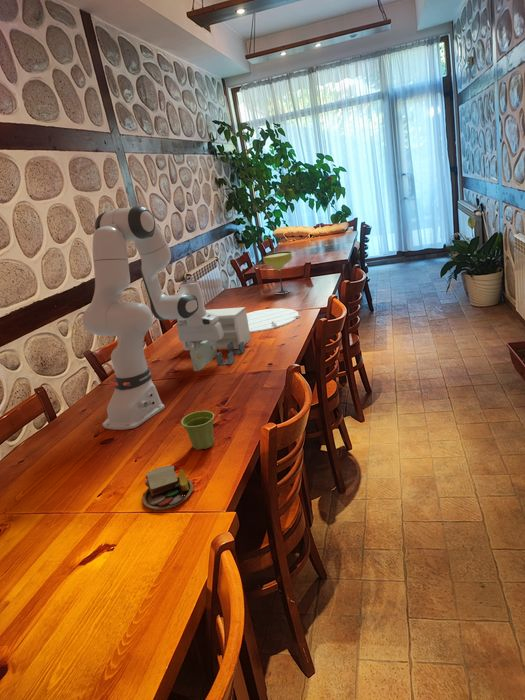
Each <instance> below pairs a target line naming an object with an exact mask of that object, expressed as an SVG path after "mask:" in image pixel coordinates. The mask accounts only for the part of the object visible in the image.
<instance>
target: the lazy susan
mask: <svg viewBox="0 0 525 700" xmlns="http://www.w3.org/2000/svg"><path fill="white" fill-rule="evenodd" d="M246 314H247V320H248V326H249V331H250V333H259V331H260V332H265V330H266V331H271V330H275V329H278V328H277V327H279V328H281V327H280V326H282V327H284V326H283V325H285V324H287V325H289V324H288V323H290V322H292V321H293V322H295V321H296V320H297V319H298V318H301V315H299V312H298V311H297V310H295V309H292V308H281V307H280V308H267V309H259V310H255V311H251V312H246ZM296 318H297V319H296ZM295 319H296V320H295ZM294 320H295V321H294ZM293 322H292V323H293ZM290 324H291V323H290ZM285 326H286V325H285ZM274 328H275V329H274ZM270 329H271V330H270Z"/></svg>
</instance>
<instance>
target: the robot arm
mask: <svg viewBox="0 0 525 700" xmlns="http://www.w3.org/2000/svg"><path fill="white" fill-rule="evenodd" d="M94 230H95V231H94V232H93V236H92V262H93V269H94V270H93V271H94V293H93V297H92V300H91V303H90V304H89V306H88V307H87V308H86V309H85V310H84V312H83V315H82V325H83V327H84V329H85V330H86V331H87V332H88V333H90V334H92V335H96V336H101V337H106V336H107V337H108V336H109V337H110V336H113V337H114V336H116V339H117V346H116V347H115V348H114V349H112V352H111V354H110V359H111V365H112V367H113V370H114V373H115V376H114V381H113V380H112V381H111V380H110V381H109V383H108V387H110V388H115V389H114V391H113V394H112V396H111V399H110V401H109V403H108V405H107V407H106V412H107V418H106V419H105V421H104V422H102V427H103V428H104V429H107V430H115V431H117V430H118V431H119V430H120V431H122V430H129V429H135V428H137V427H139V426H140V425H142V424H143V423H144V422H146V421H148V420H150V419H151V418H152V417H153V416H155V415H156V414H158V413H160V412H161V411H162V410H164V409H165V408H166V407H165V405H164V403H163V402H162V400H161V398H160V395H159V393H158V389H157V387H156V385H155V384H154V383H153V381H152V374H151V373H152V372H151V370H150V367H148V364H147V359H146V356H145V351H144V341H145V336H146V334H147V333H148V331H149V330H150V329H151V327H152V324H153V318H156V319H157V320H159V321H166V320H167V321H168V320H177V319H186V320H179V321H177V322H176V327H177V335H178V341H180V342H181V343H183V342H185V341H187V343H188V345H189V346H190V347H191V350H192V349H193V348H195V347H196V346H194V345H193V343H192V342H193V341H210V340H211V342H212V343H213V344H212V346H210V347H211V350H215V349H216V347H215V344H216V342H217V340H220V339H222V338H223V335H224V334H223V330H222V326H221V324H220V322H219V321H217V320H218V319H219V318H218V316H217V315H214V314H211V313H207V312H206V310H207V309H206V307H205V303H204V301H205V299H204V295H203V291H202V289H201V286H200V284H199V282H197V281H186V282H185V281H184V282H181V283H180V284H179V290H178V291H177V293H176V294H173V295H172V294H170V295H167V294H165V293H164V292H163V290H162V286H161V284H160V280H159V277H158V274H159V273H160V272H161V271H163V270H164V269H165V268H167V266H168V265H169V264H170V262H171V259H172V253H171V249H170V246H169V244H168V242H167V241H168V240H167V239H166V237H165V235H164V234H163V232H162V230H161V228H160V227H159V224H158V223H157V222H156V218H155V217H154V215H153V213H152V212H151V211H150V210H149V209H148V208H147V207H144V206H138V205H137V206H135V205H134V206H133V207H120V208H118V207H117V208H115V209H112V210H106V211H104V212H101V213H100V214H99V215H97V217H96V219H95V223H94ZM132 241H133V242H134V245H135V247H136V248H135V249H136V251H137V252H138V256H139V257H140V260H141V264H140V266H139V269H140V275H141V279H142V282H143V285H144V287H145V291H146V294H147V296H148V299H149V304H150V305H149V306H150V307H149V306H148V305H147V304H145V303H142V302H136V301H126V302H125V301H123V302H121V298H122V294H123V293H124V291H125V290H126V289H127V288H128V287H129V286H130V284H131V274H130V265H129V255H128V249H127V242H132ZM178 322H179V323H178ZM191 350H190V351H191Z"/></svg>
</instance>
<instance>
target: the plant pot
mask: <svg viewBox="0 0 525 700" xmlns="http://www.w3.org/2000/svg"><path fill="white" fill-rule="evenodd" d="M214 418H215V414H214V413H213V412H211V411H210V410H199V411H194V412H191V413H189V414H187V415H185V416H184V417H183V418H182V419H181V421H180V422H181V425H182V426H183V427H184V429H185V430H186V433H187V436H188V437H189V440H190V442H191V444H192V448H193V449H194V450H197V451H198V450H199V451H201V450H203V449H205V450H206V449H208V448H211V447H212V446H213V445H214V442H215V441H214V438H215V437H214Z"/></svg>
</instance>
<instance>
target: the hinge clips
mask: <svg viewBox="0 0 525 700" xmlns="http://www.w3.org/2000/svg"><path fill="white" fill-rule="evenodd" d="M227 346H228V349H227V350H228V351H227V352H228V354H227V355H226V357H227V360H225V359H224V358H223V351H219V352H217V355H216V357H215V358H216V364H217V366H227V365H226V364H231V365H232V364H234V362H235V356H234V355H242V354H243V353H245V352H246V349H245V346H244V342H241V343H240V344H239V345H238V346H239V349H234V347H233V342H230V343H229V344H228V345H227Z"/></svg>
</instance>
